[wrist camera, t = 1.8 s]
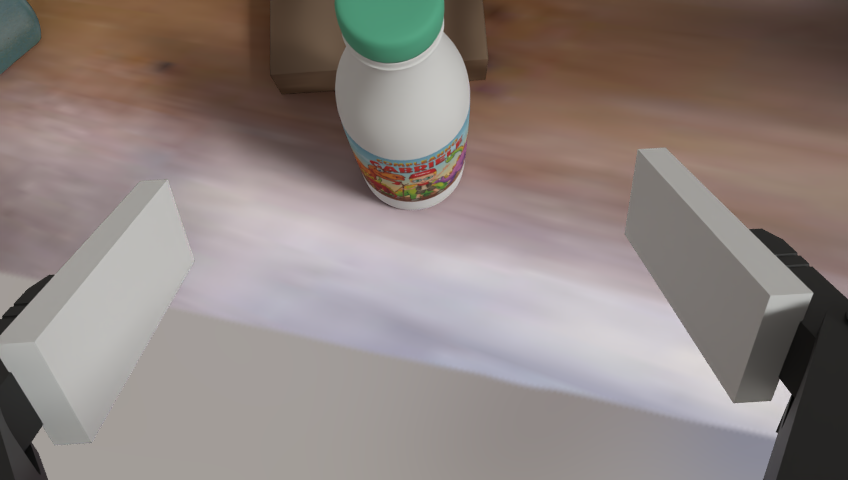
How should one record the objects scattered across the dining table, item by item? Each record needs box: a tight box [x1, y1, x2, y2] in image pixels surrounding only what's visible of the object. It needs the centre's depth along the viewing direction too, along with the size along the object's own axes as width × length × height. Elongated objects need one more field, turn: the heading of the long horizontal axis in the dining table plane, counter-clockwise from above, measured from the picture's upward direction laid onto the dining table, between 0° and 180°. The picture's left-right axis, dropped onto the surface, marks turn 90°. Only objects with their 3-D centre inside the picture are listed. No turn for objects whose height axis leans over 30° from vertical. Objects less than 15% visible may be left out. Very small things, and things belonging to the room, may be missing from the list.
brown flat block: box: [270, 0, 488, 94], centre depth 44 cm, size 16×11×3 cm
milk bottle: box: [334, 0, 470, 210], centre depth 33 cm, size 8×8×20 cm
